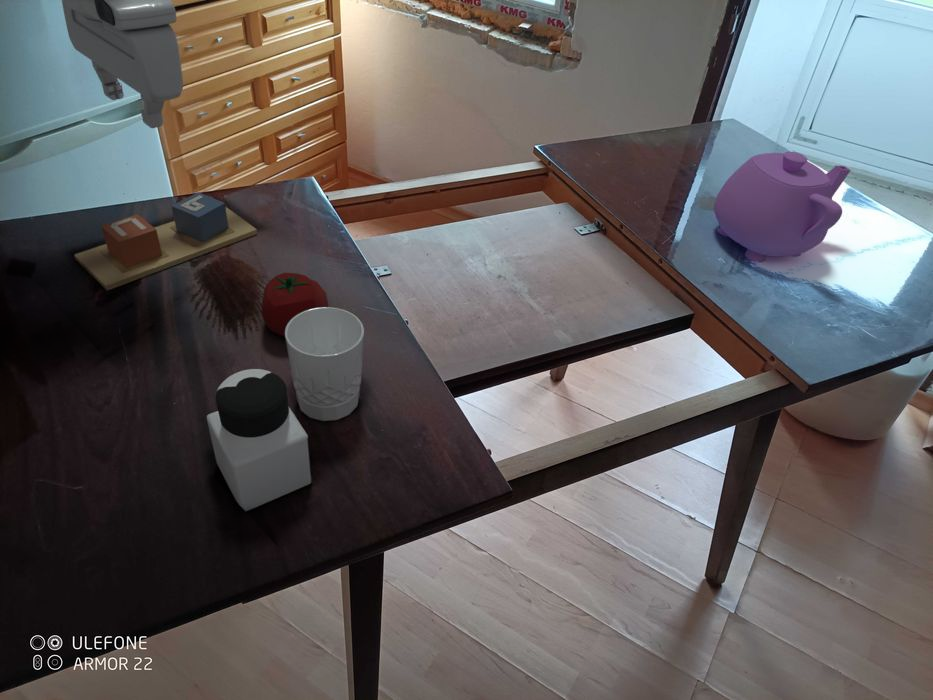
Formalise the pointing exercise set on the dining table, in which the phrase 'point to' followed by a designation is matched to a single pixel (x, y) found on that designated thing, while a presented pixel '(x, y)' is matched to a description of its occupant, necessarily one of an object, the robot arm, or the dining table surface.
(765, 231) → the teapot
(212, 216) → the tile
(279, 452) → the medicine bottle
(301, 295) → the tomato
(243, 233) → the word board
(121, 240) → the tile
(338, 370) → the white cup
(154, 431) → the dining table surface
